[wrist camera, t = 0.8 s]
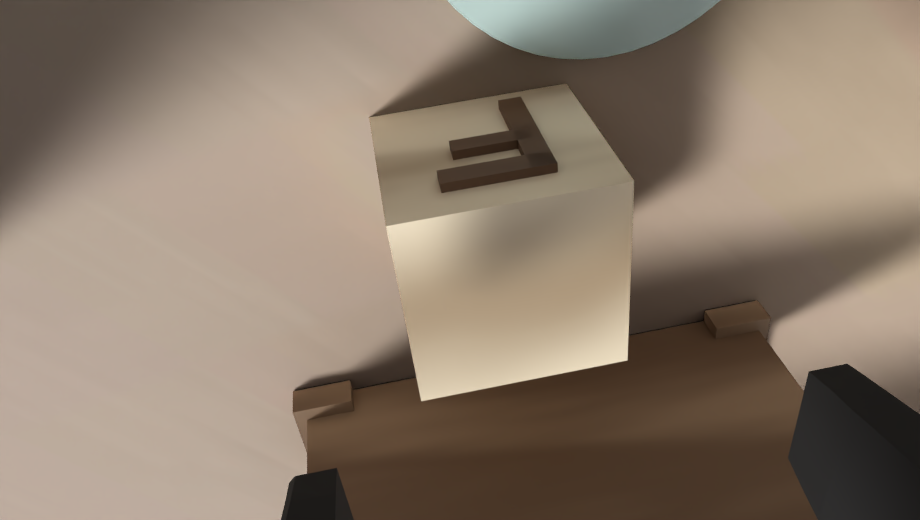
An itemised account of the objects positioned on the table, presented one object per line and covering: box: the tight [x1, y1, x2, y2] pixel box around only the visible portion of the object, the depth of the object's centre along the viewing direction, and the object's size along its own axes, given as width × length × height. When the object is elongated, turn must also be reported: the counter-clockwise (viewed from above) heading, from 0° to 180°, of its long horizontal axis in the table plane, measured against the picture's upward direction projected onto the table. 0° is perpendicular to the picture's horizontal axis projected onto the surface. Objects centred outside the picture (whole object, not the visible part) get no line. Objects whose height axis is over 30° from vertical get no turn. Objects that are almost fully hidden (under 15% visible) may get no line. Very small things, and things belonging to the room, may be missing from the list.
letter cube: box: [369, 84, 634, 401], centre depth 16 cm, size 5×4×4 cm
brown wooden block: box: [293, 300, 818, 520], centre depth 20 cm, size 4×14×7 cm, turn 97°
